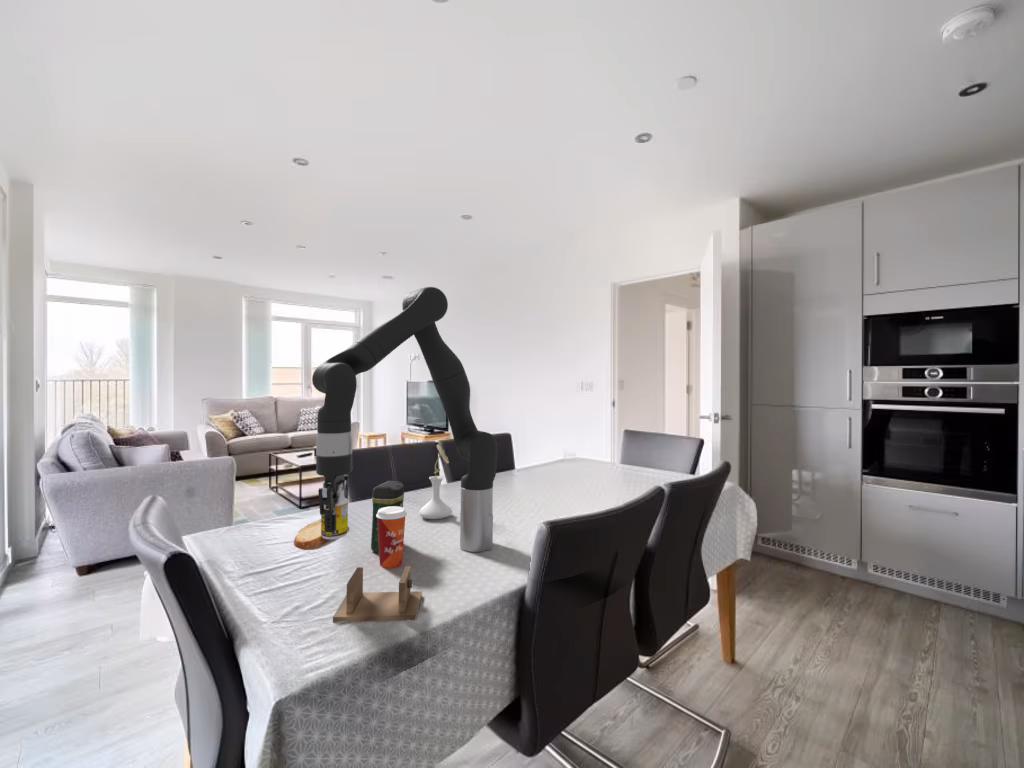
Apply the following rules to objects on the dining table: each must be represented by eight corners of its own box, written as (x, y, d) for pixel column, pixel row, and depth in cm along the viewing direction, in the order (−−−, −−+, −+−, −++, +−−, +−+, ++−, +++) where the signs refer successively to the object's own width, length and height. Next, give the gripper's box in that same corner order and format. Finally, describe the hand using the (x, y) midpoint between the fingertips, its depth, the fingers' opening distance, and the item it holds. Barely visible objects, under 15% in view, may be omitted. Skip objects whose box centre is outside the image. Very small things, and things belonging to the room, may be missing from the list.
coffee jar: (394, 555, 122) (395, 487, 122) (367, 553, 123) (367, 485, 123) (407, 542, 132) (407, 479, 131) (381, 540, 132) (381, 478, 132)
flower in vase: (449, 522, 150) (450, 448, 150) (415, 521, 150) (416, 447, 150) (455, 511, 163) (455, 442, 163) (423, 510, 164) (424, 442, 163)
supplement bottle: (315, 538, 99) (315, 492, 99) (332, 530, 104) (332, 486, 104) (336, 541, 97) (336, 494, 97) (353, 533, 102) (352, 488, 102)
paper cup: (390, 572, 111) (390, 515, 111) (369, 565, 115) (369, 510, 115) (412, 561, 118) (413, 508, 118) (392, 555, 122) (392, 503, 122)
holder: (421, 595, 99) (421, 564, 99) (415, 619, 89) (415, 584, 89) (347, 597, 98) (347, 565, 98) (332, 622, 88) (333, 586, 88)
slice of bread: (300, 552, 124) (300, 539, 124) (281, 535, 137) (282, 523, 137) (363, 538, 136) (363, 525, 136) (340, 523, 149) (340, 512, 149)
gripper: (342, 457, 93) (342, 538, 94) (359, 446, 108) (360, 516, 108) (304, 458, 93) (305, 539, 93) (327, 447, 107) (328, 517, 107)
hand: (334, 526), depth 101 cm, fingers closed on supplement bottle, 5 cm apart
